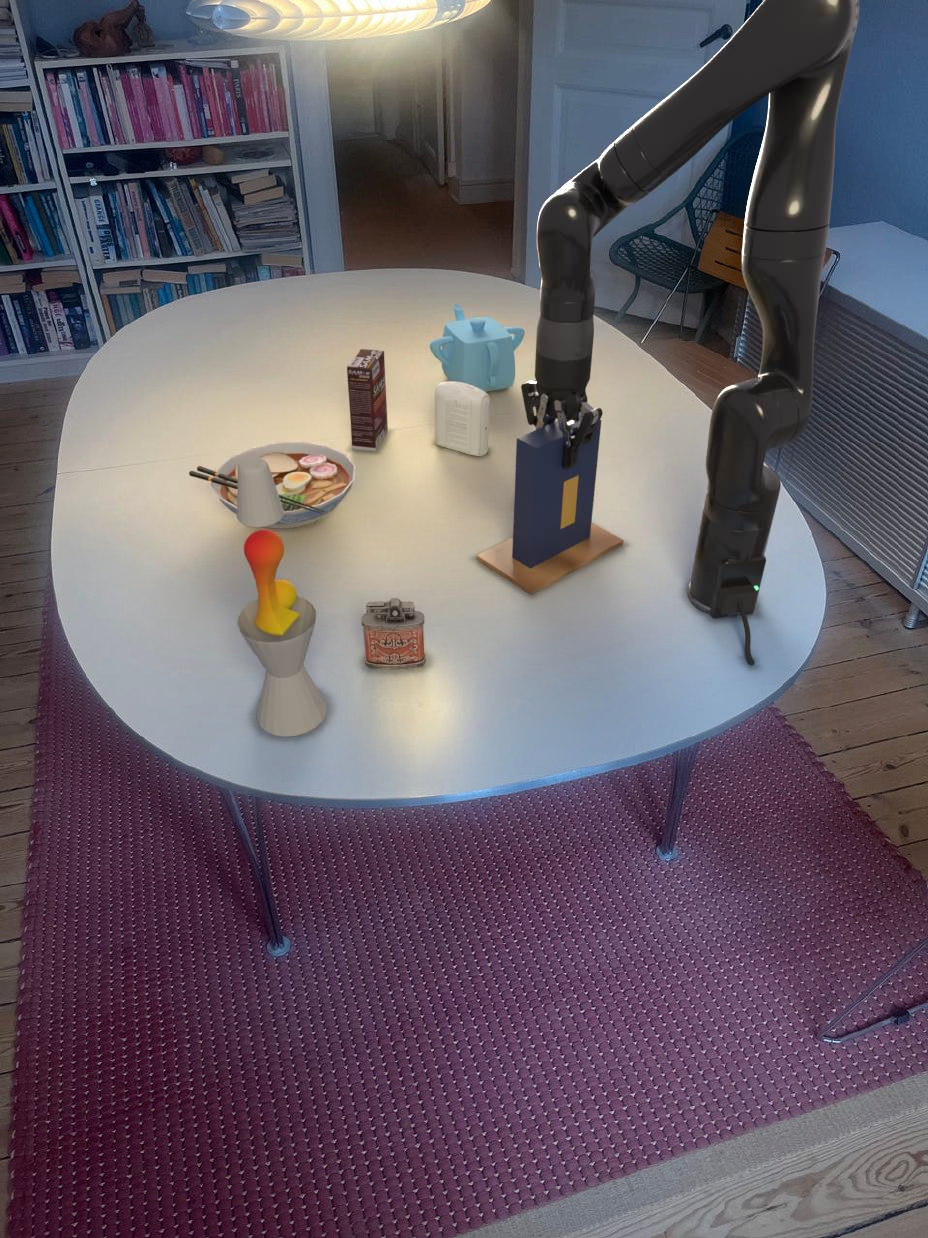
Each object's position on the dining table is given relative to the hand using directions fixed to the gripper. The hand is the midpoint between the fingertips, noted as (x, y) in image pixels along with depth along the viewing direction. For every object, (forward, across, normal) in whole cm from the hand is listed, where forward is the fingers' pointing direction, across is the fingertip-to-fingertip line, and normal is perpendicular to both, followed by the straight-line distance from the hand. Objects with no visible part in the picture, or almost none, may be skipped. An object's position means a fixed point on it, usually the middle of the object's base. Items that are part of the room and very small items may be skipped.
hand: (556, 460), depth 137 cm
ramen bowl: (+16, +36, +24) cm, 46 cm away
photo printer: (+16, +34, -12) cm, 40 cm away
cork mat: (+16, 0, 0) cm, 16 cm away
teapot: (+16, +55, -33) cm, 66 cm away
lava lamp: (+16, -4, +50) cm, 52 cm away
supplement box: (+16, +48, -1) cm, 50 cm away
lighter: (+16, -5, +34) cm, 38 cm away
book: (+5, 0, +6) cm, 8 cm away
